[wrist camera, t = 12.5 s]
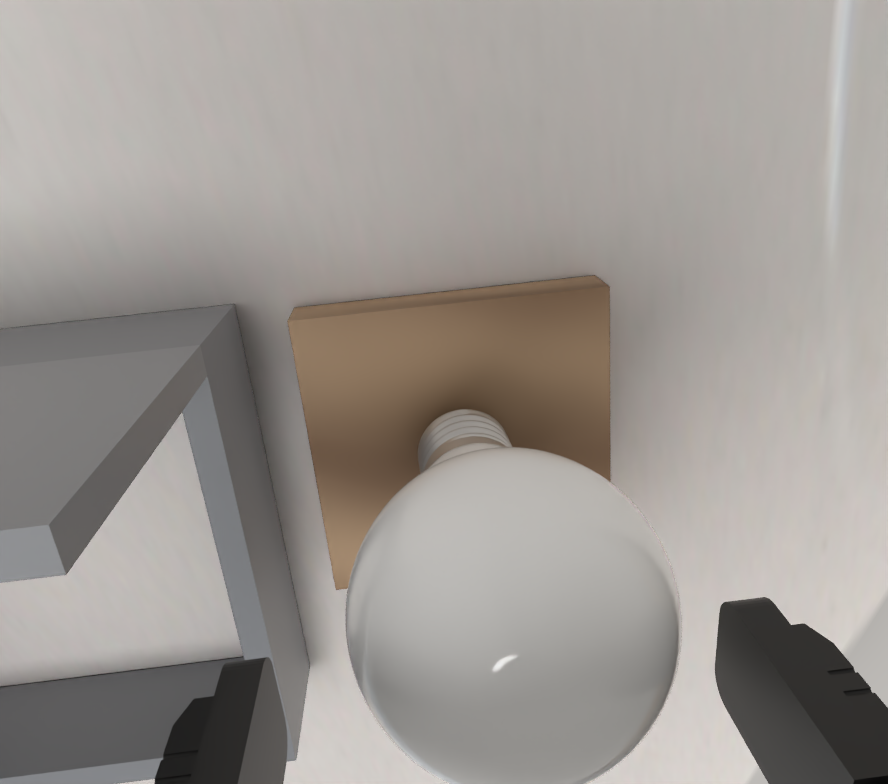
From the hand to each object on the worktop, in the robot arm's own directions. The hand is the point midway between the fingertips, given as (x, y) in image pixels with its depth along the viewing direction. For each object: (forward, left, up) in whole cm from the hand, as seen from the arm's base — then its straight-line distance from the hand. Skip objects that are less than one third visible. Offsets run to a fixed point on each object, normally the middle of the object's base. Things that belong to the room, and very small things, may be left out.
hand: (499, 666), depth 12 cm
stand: (0, 0, -11) cm, 11 cm away
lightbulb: (0, 0, -9) cm, 9 cm away
